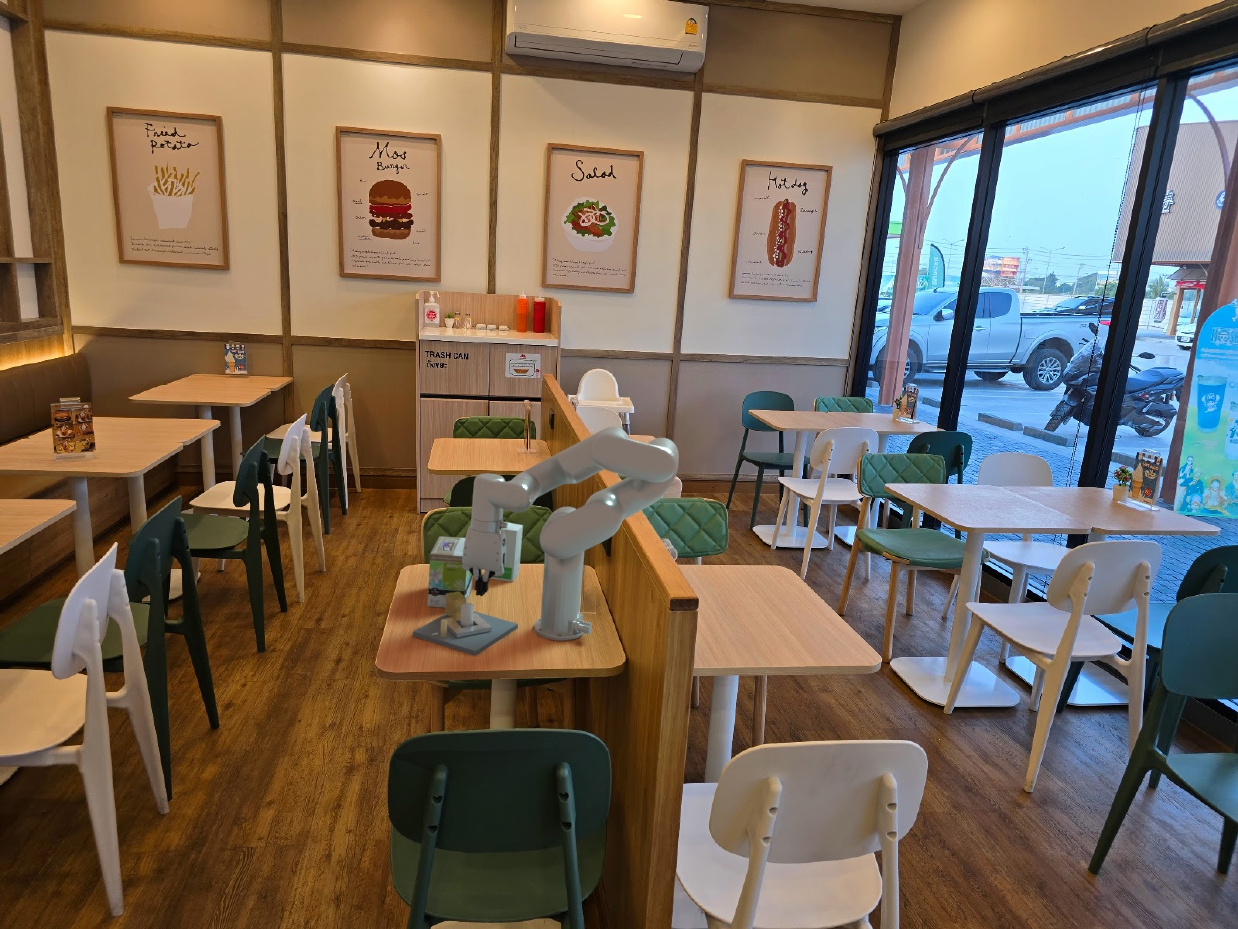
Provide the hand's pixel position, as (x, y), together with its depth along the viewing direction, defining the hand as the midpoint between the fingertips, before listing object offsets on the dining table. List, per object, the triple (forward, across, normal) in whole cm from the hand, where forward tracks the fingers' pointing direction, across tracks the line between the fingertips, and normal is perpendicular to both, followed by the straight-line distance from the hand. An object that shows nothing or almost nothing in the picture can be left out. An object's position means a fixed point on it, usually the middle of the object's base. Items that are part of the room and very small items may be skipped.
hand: (481, 593), depth 204 cm
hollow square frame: (+6, +2, +6) cm, 8 cm away
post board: (+7, +1, +7) cm, 10 cm away
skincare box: (+8, +4, -31) cm, 32 cm away
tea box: (+8, +12, -12) cm, 19 cm away
